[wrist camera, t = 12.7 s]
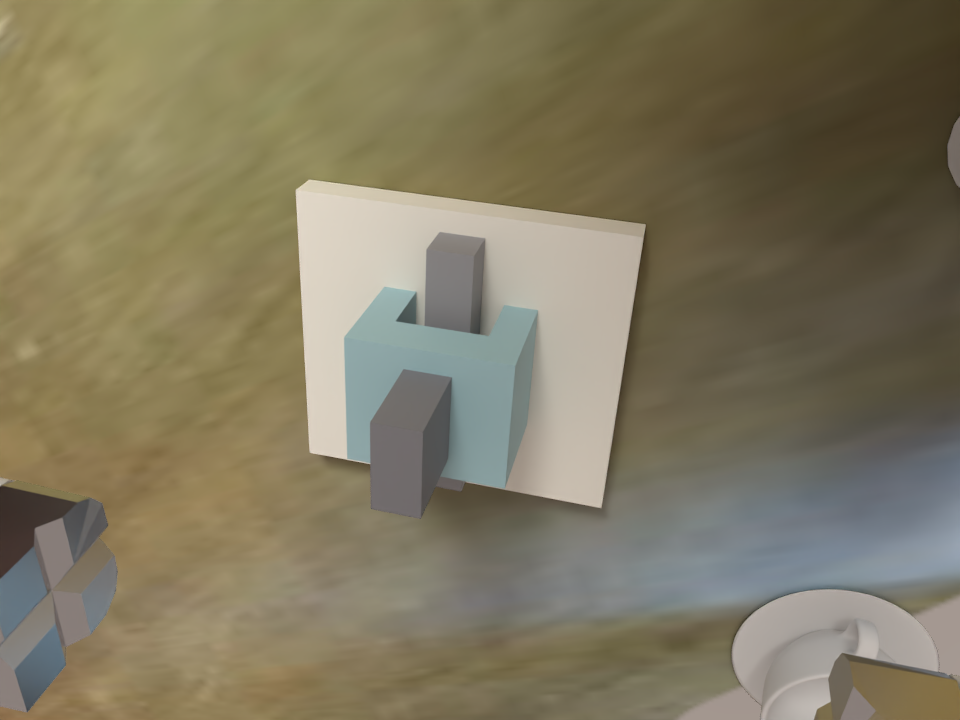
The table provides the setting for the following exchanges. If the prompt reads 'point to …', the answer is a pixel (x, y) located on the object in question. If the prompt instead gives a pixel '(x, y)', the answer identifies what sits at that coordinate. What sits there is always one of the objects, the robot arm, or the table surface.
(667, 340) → the table surface
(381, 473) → the block
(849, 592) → the teacup
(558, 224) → the cleat board
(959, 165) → the chalice
